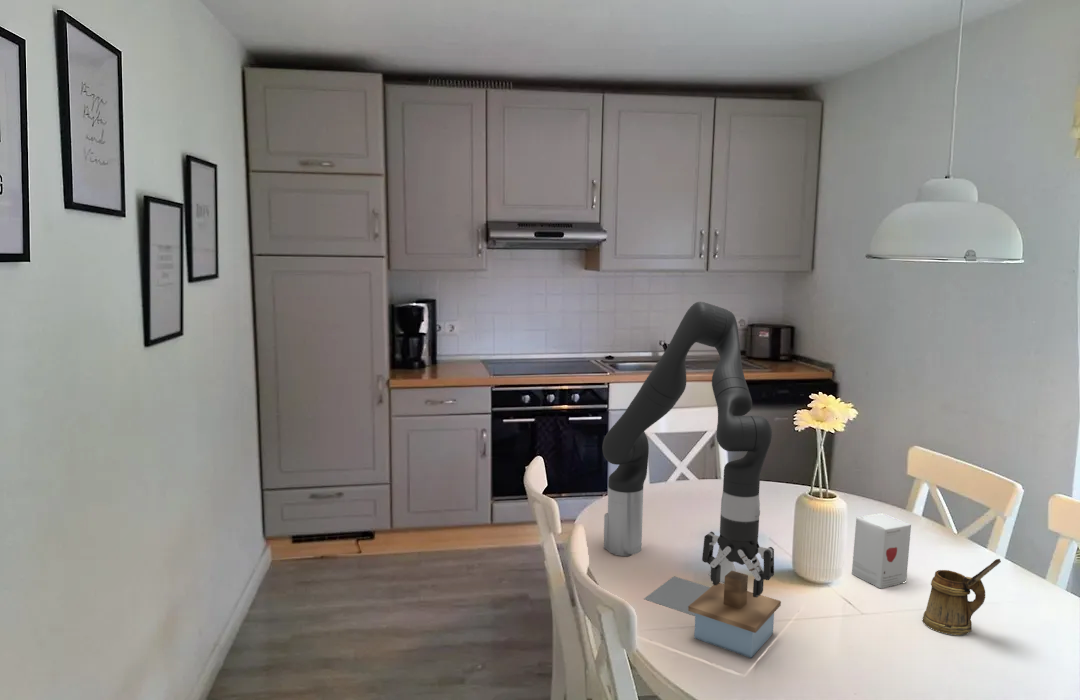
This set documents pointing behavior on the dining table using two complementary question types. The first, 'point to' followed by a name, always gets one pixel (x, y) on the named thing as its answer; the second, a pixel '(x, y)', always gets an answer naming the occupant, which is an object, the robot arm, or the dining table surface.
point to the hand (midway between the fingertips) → (736, 589)
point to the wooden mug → (954, 600)
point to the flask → (725, 567)
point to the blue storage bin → (732, 635)
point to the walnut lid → (735, 604)
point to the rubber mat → (677, 594)
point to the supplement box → (881, 549)
